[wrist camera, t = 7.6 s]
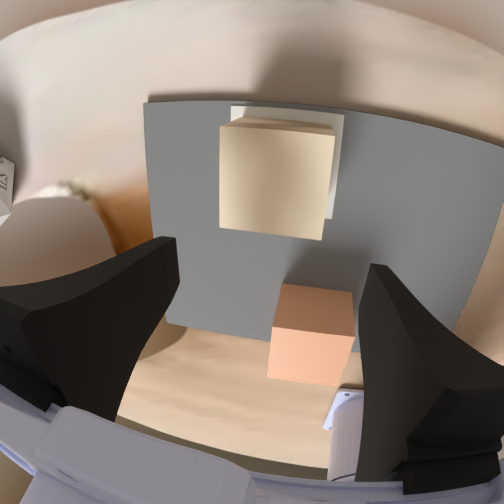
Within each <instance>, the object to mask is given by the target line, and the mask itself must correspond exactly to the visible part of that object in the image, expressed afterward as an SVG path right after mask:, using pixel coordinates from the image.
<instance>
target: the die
mask: <svg viewBox="0 0 504 504" xmlns="http://www.w3.org/2000/svg"><path fill="white" fill-rule="evenodd" d="M14 168H15V163H13V162H11V161H9V160H7V159H5V158H3V157H0V226H1V224H2V223H3V222H4V221H5V220H6V219H7V218H8V217H9V215H10V214H11V209H12V191H13V179H14Z"/></svg>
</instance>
